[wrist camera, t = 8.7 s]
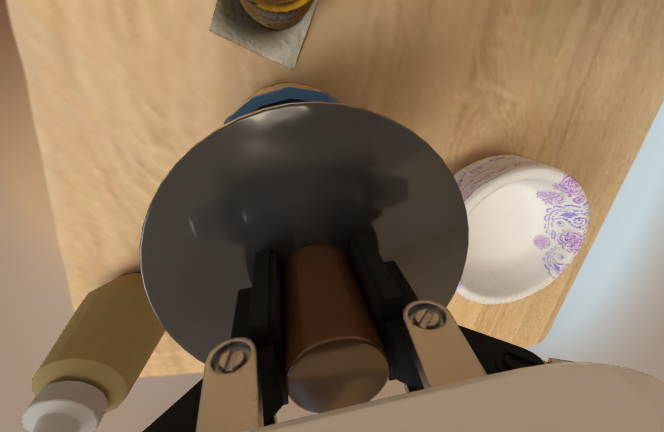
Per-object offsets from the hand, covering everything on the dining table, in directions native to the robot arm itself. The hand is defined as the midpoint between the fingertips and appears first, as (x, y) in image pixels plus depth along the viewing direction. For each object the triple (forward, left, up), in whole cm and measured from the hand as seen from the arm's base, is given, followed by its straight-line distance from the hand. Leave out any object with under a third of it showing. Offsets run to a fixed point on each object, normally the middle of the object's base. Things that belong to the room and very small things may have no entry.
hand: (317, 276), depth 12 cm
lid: (0, 0, -1) cm, 1 cm away
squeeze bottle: (+15, +18, -21) cm, 32 cm away
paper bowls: (-22, +5, -21) cm, 31 cm away
